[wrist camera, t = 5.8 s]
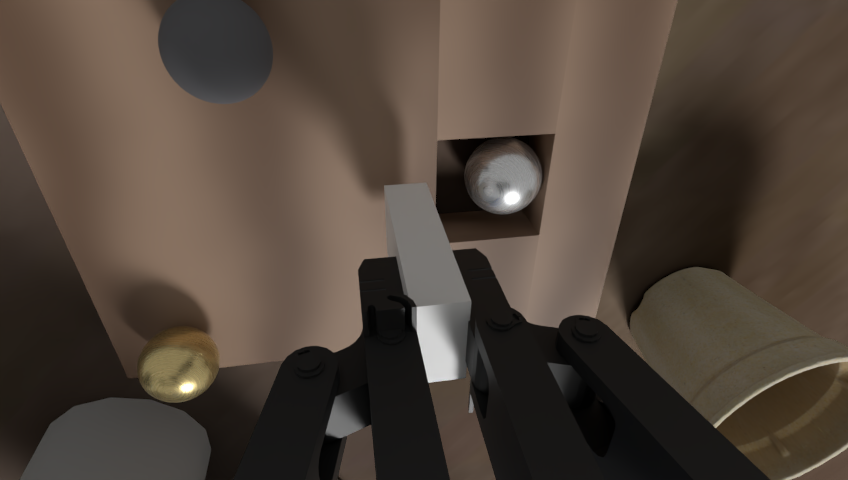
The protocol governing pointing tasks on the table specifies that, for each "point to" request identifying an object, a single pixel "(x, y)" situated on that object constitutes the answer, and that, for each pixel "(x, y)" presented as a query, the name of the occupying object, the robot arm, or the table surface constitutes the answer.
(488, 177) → the steel ball
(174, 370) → the brass ball
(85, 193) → the board
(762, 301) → the flower pot
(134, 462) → the cup
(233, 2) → the rubber ball
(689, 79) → the table surface
